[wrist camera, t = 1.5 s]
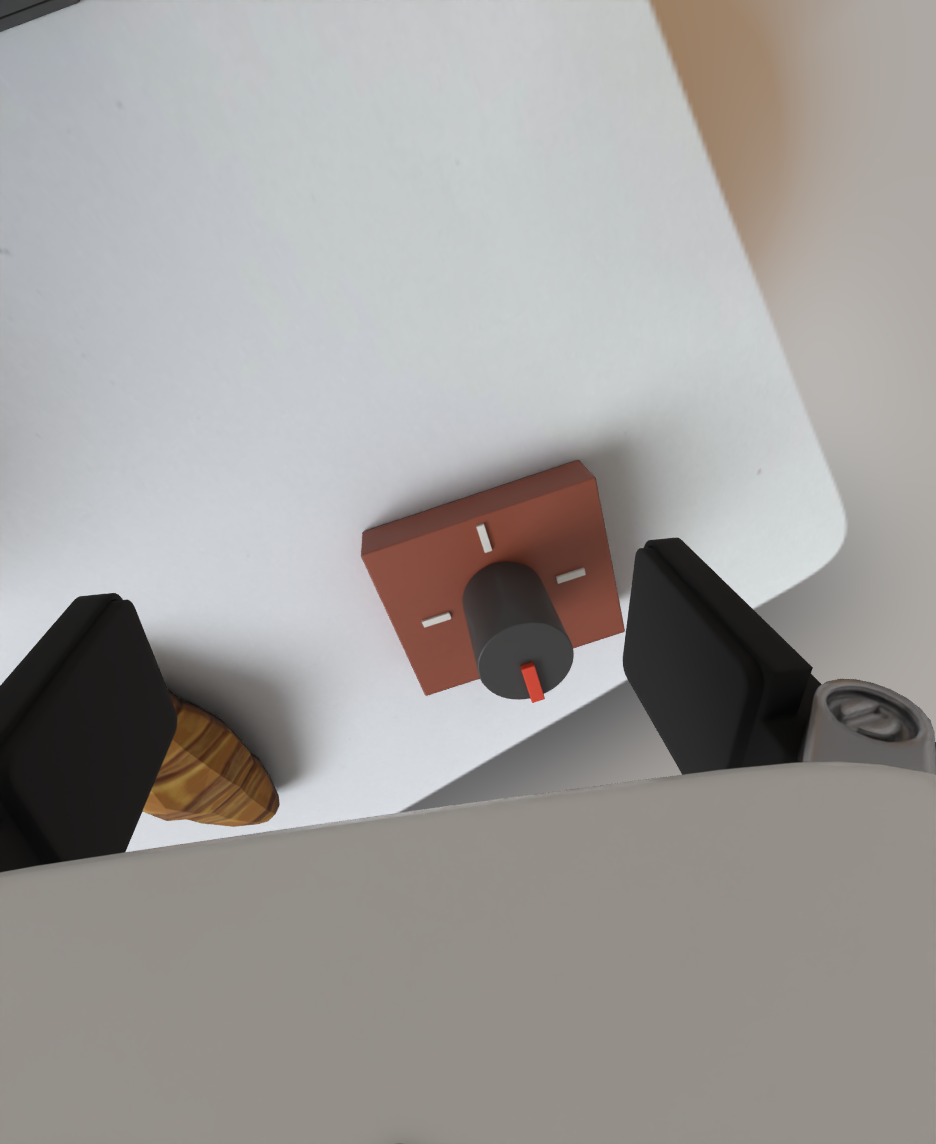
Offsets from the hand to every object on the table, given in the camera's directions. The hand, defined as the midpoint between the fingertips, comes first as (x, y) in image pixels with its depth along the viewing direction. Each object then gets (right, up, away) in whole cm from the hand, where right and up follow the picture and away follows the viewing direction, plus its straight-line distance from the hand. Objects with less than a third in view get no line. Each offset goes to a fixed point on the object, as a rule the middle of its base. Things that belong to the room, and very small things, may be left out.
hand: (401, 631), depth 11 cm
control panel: (+3, +1, +19) cm, 19 cm away
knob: (+3, 0, +17) cm, 17 cm away
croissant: (-14, -8, +22) cm, 27 cm away
